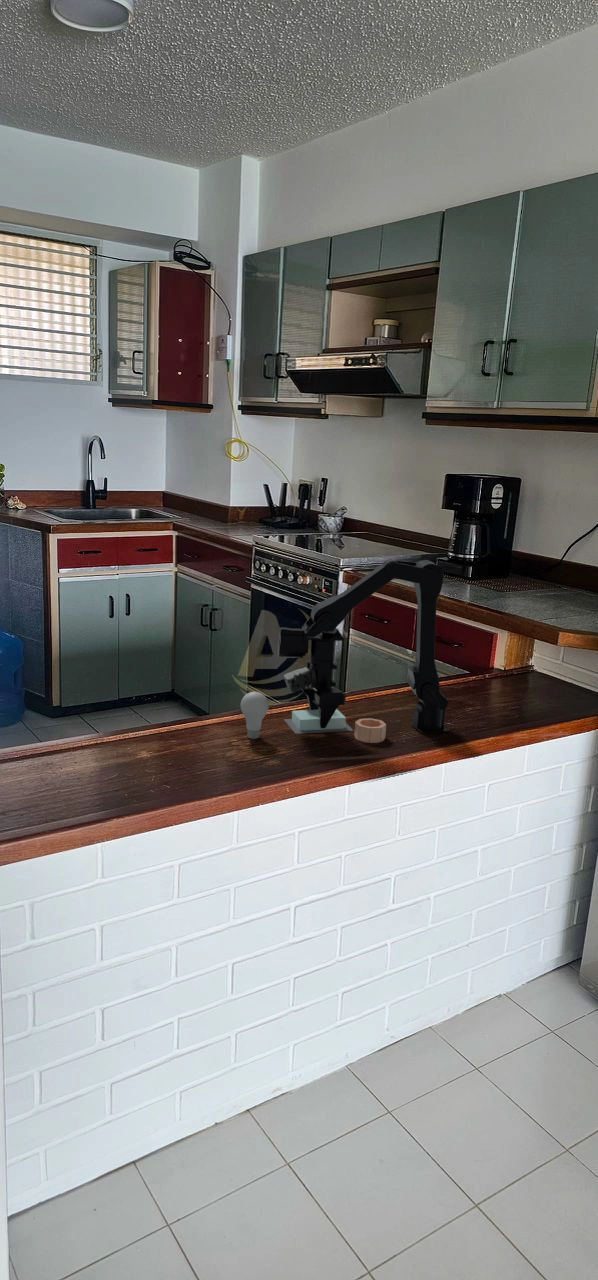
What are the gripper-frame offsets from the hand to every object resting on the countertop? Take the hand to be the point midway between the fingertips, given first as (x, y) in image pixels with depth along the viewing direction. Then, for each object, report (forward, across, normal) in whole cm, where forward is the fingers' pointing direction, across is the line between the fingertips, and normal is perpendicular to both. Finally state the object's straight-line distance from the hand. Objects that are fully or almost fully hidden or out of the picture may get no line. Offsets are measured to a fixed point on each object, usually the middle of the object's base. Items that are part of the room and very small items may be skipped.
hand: (318, 723), depth 203 cm
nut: (+1, +10, +9) cm, 13 cm away
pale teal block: (0, 0, 0) cm, 0 cm away
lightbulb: (+1, +6, -17) cm, 18 cm away
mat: (+1, 0, 0) cm, 1 cm away
